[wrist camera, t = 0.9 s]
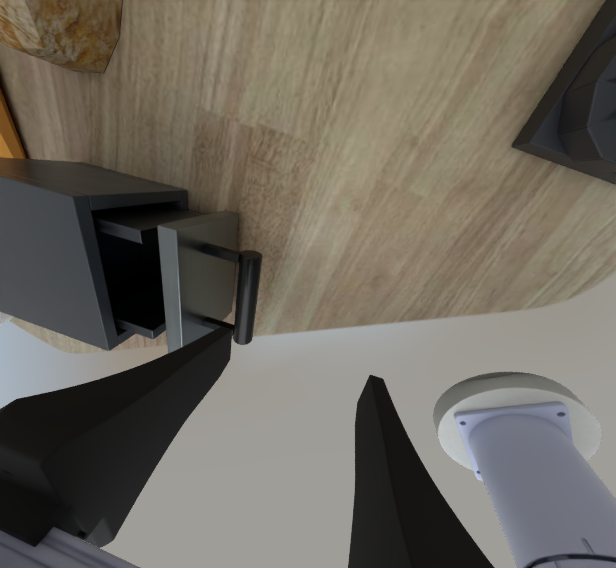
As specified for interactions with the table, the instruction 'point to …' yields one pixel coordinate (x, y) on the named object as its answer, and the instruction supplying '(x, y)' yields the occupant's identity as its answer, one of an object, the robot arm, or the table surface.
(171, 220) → the drawer
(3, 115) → the carrot
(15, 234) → the cabinet
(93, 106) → the table surface
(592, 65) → the block
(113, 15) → the bread
